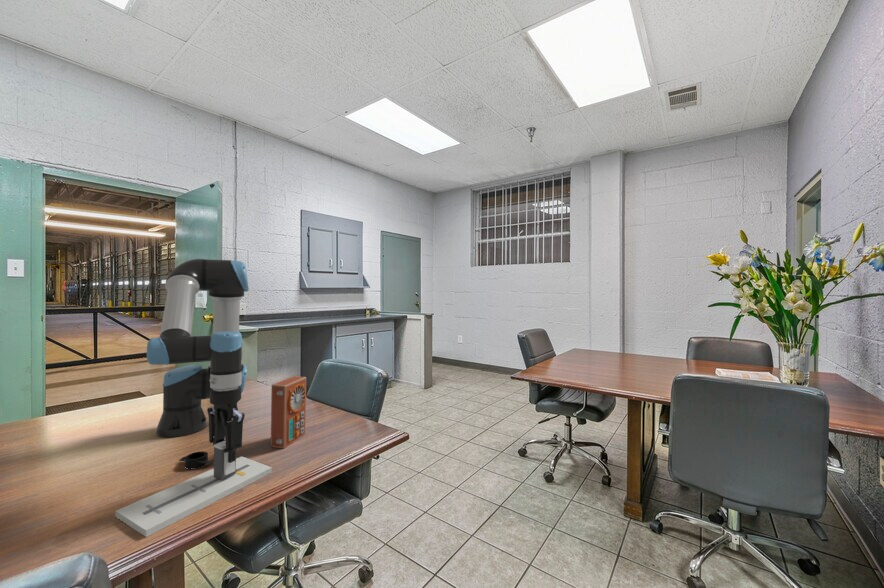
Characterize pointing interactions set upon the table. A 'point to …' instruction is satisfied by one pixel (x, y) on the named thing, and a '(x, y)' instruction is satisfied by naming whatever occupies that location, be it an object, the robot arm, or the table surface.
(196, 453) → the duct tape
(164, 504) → the fader board
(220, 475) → the slider handle
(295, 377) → the control panel
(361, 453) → the table surface
